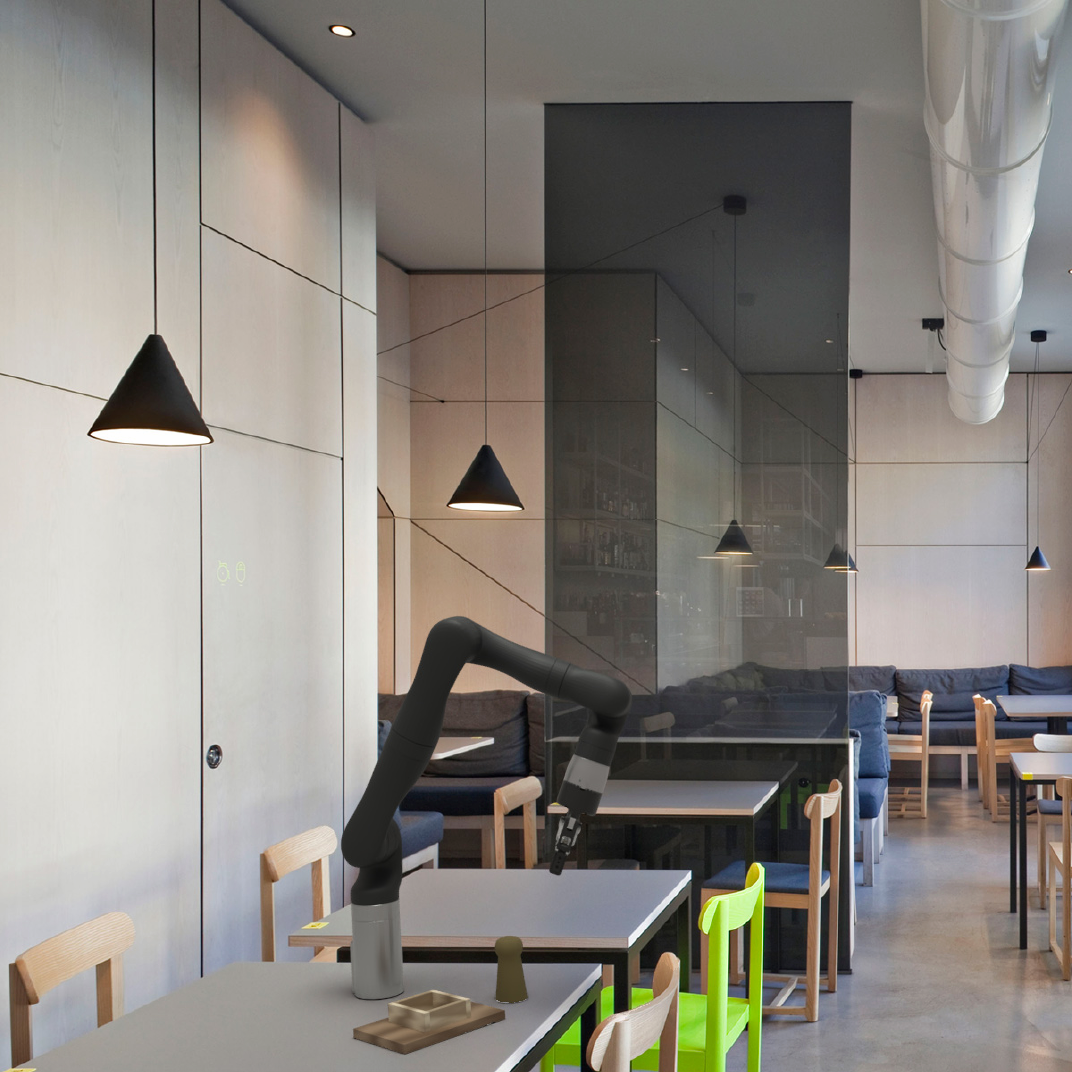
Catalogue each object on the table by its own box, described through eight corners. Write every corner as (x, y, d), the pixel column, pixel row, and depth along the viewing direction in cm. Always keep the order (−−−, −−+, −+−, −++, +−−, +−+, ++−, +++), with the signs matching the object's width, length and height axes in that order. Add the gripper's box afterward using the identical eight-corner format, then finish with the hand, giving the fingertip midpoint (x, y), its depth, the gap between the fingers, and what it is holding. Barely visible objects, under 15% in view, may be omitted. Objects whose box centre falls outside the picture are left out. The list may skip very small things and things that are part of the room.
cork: (524, 1003, 221) (520, 941, 221) (491, 1003, 222) (488, 941, 223) (531, 993, 226) (527, 932, 227) (499, 993, 228) (496, 933, 229)
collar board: (353, 1037, 207) (352, 1010, 207) (452, 1005, 222) (451, 979, 222) (404, 1054, 197) (403, 1025, 197) (505, 1019, 212) (503, 992, 212)
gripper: (564, 776, 230) (535, 861, 227) (563, 778, 216) (533, 868, 213) (602, 790, 229) (574, 874, 227) (604, 793, 215) (574, 883, 212)
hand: (554, 871), depth 220 cm, fingers open, 8 cm apart
